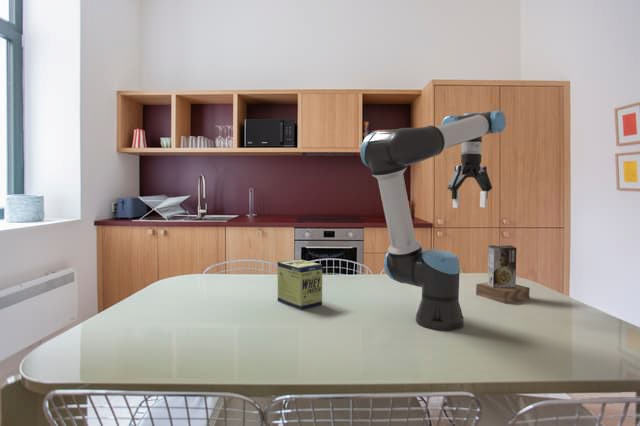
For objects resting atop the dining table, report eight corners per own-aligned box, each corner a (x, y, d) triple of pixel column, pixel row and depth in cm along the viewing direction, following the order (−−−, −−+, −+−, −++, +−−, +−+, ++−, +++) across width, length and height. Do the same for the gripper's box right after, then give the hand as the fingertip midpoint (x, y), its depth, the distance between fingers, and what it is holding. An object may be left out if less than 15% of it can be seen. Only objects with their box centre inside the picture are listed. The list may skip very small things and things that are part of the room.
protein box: (301, 310, 157) (300, 267, 156) (276, 301, 169) (276, 261, 168) (323, 305, 164) (323, 264, 162) (298, 296, 176) (298, 258, 174)
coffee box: (509, 284, 178) (510, 245, 177) (515, 287, 171) (517, 247, 170) (486, 283, 178) (488, 244, 177) (492, 287, 172) (494, 247, 171)
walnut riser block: (504, 304, 166) (504, 291, 166) (476, 296, 178) (476, 284, 178) (529, 300, 172) (529, 287, 172) (500, 292, 185) (500, 280, 184)
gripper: (452, 151, 163) (450, 208, 164) (502, 154, 172) (500, 207, 174) (439, 153, 170) (437, 207, 171) (488, 155, 179) (487, 206, 180)
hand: (469, 207), depth 172 cm, fingers open, 13 cm apart
